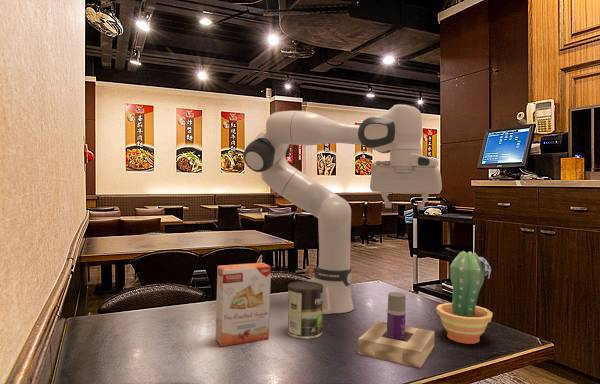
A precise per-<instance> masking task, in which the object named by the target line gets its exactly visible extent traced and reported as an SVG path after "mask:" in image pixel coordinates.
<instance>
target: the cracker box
mask: <svg viewBox="0 0 600 384" xmlns="http://www.w3.org/2000/svg"><path fill="white" fill-rule="evenodd" d="M216 267H217V271H216V273H217V276H216V306H215V307H216V308H215V309H216V311H215V313H216V314H215V315H216V316H215V318H216V319H215V340H216V341H217V343H218V344H219V346H220V347H226V346H231V345H232V346H233V345H238V344H244V343H252V342H257V341H262V340H269V337H270V335H269V334H270V313H271V311H270V310H271V307H270V306H271V278H272V277H271V276H272V265H271V266H270V265H269V264H266V263H265V262H254V263H238V264H227V265H226V264H225V265H224V264H223V265H217V266H216Z"/></svg>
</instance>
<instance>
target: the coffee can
mask: <svg viewBox="0 0 600 384" xmlns="http://www.w3.org/2000/svg"><path fill="white" fill-rule="evenodd" d="M287 289H288V293H287V295H288V297H287V299H288V301H287V304H288V305H287V334H288V335H289V336H290V337H292V338H295V339H301V340H311V339H316V338H319V337H321V336H322V335H323V314H322V299H323V285H322V284H320V283H317V282H310V281H309V280H303V281H300V280H299V281H293V282H290V283H288V285H287Z"/></svg>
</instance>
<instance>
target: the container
mask: <svg viewBox="0 0 600 384" xmlns="http://www.w3.org/2000/svg"><path fill="white" fill-rule="evenodd" d="M387 296H388V297H387V311H386V313H387V315H386V323H387V338H390V339H395V340H400V341H405V326H406V294H405V293H403V292H399V291H392V292H388V294H387Z"/></svg>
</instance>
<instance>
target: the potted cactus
mask: <svg viewBox="0 0 600 384" xmlns="http://www.w3.org/2000/svg"><path fill="white" fill-rule="evenodd" d="M449 267H450V268H449V269H450V270H449V272H450V281H451V285H452V300H451V301H452V302H445V303H441V304H438V305H437V306H436V307H435V309H436V313H437V315H438V316H439V318H440V321H441V324H442V326H443V327H444V329H445V330H446V332H447V334H446V337H447V338H448V339H449V340H451V341H453V342H457V343H462V344H466V345H467V344H477V343H479V342H481V341H480V337H481V336H482V335H483V334H484V333H485V330H486V329H487V326H488V324H489V323H491V321H492V318H493V314H494V313H493V312H492V311H490V310H489V309H488V308H485V307H481V306H478V305H477V301H478V298H479V293H480V291H481V288H482V286H483V284H484V280H485V277H486V276H487V275H488V277H487V279H488V280H489V279H490V278H491V277H490V276H491V272H492V269H491V268H492V267H491V266H490V264H489V262H488V261H487V259H486V258H484V257H483V256H478V254H477V253H476V252H474V253H473V252H472V251H468V252H466V251H465V250H462V251H460V252H459V253H458V254H457V256H455V258H454V259H453V260H452V262H451V264H450V266H449Z"/></svg>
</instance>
